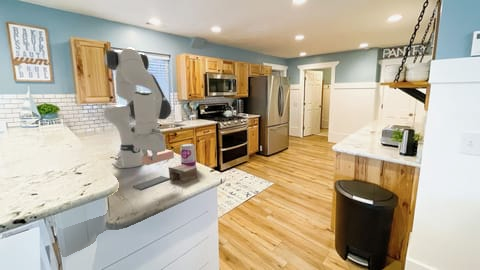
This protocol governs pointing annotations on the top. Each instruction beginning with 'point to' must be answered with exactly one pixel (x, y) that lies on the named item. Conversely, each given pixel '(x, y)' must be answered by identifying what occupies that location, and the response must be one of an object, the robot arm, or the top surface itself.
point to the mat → (150, 182)
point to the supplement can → (188, 155)
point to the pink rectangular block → (158, 157)
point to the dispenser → (183, 173)
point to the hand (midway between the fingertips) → (150, 159)
